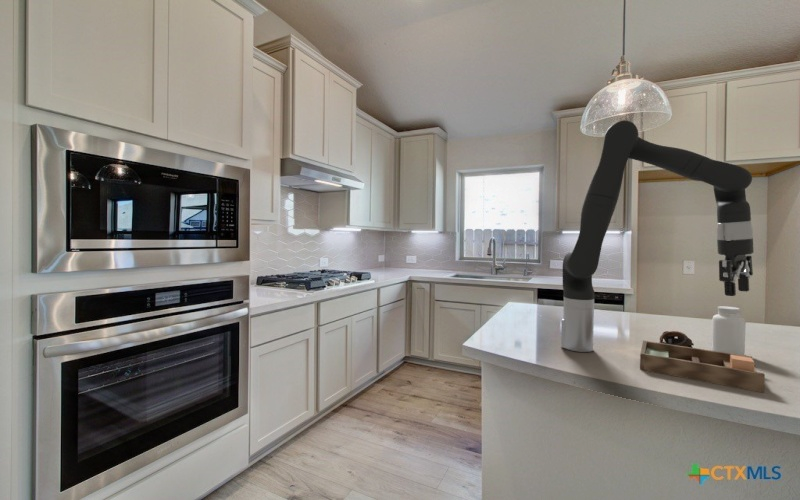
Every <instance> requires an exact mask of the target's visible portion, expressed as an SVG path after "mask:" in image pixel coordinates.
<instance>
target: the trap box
mask: <svg viewBox="0 0 800 500" xmlns="http://www.w3.org/2000/svg"><path fill="white" fill-rule="evenodd" d="M730 355H736V356H743V357H750V358H752V359H753V356H749V355H745V354H744V355H738V354H731V353H724V352H718V351H712V349H710V350H709V349H704V348H703V349H702V348H696V347H693V348H691V347H684V346H677V345H670V344H664V343H660V342H658V341H657V342H656V341H648V340H643V339H642V344H641V349H640V354H639V357H640V359H639V370H642V371H648V372H652V373H658V374H663V375H669V376H674V377H680V378H685V379H690V380H695V381H699V382H700V381H701V382H706V383H711V384H715V385H722V386H726V387H732V388H738V389H742V390H746V391H747V390H748V391H753V392H758V393H765V375H766V374H765V373H764V372H758V371H757V370H756V368H755V367H754V371H748V370H741V369H735V368H730Z"/></svg>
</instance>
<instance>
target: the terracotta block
mask: <svg viewBox="0 0 800 500" xmlns="http://www.w3.org/2000/svg"><path fill="white" fill-rule="evenodd" d="M730 368H735V369H741V370H748V371H754V368H755V361H754V360H753V357H752V358H750V357H743V356H736V355H730Z"/></svg>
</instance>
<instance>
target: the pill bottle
mask: <svg viewBox="0 0 800 500" xmlns="http://www.w3.org/2000/svg"><path fill="white" fill-rule="evenodd" d="M740 313H741V308H739V307H735V306H729V305H728V306H727V305H726V306H723V305H722V306H721V305H719V306H717V314H714V315H713V316H712V317H711V319H712V320H711V351H718V352H724V353H731V354H738V355H745V350H746V325H747V324H746V323H747V322H746V320H745V319H744V318H743V317H741V314H740Z"/></svg>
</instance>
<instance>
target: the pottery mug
mask: <svg viewBox="0 0 800 500" xmlns="http://www.w3.org/2000/svg"><path fill="white" fill-rule="evenodd" d="M659 343H664V344H670V345H677V346H684V347H691V348H694V347H693V346H694V342H693V340H692V339H691V338H690V337H688V336H687V335H686V334H685V333H684V332H681V331H676V330H672V331H669V330H667V331H663V332H662V334H661V335H660V337H659Z"/></svg>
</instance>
